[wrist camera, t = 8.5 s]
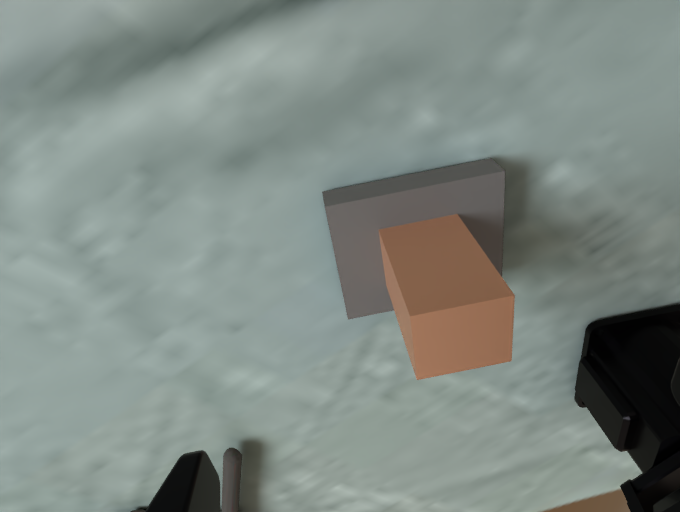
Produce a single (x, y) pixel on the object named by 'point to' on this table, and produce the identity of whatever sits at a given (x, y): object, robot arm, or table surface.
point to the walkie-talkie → (228, 481)
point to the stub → (429, 262)
